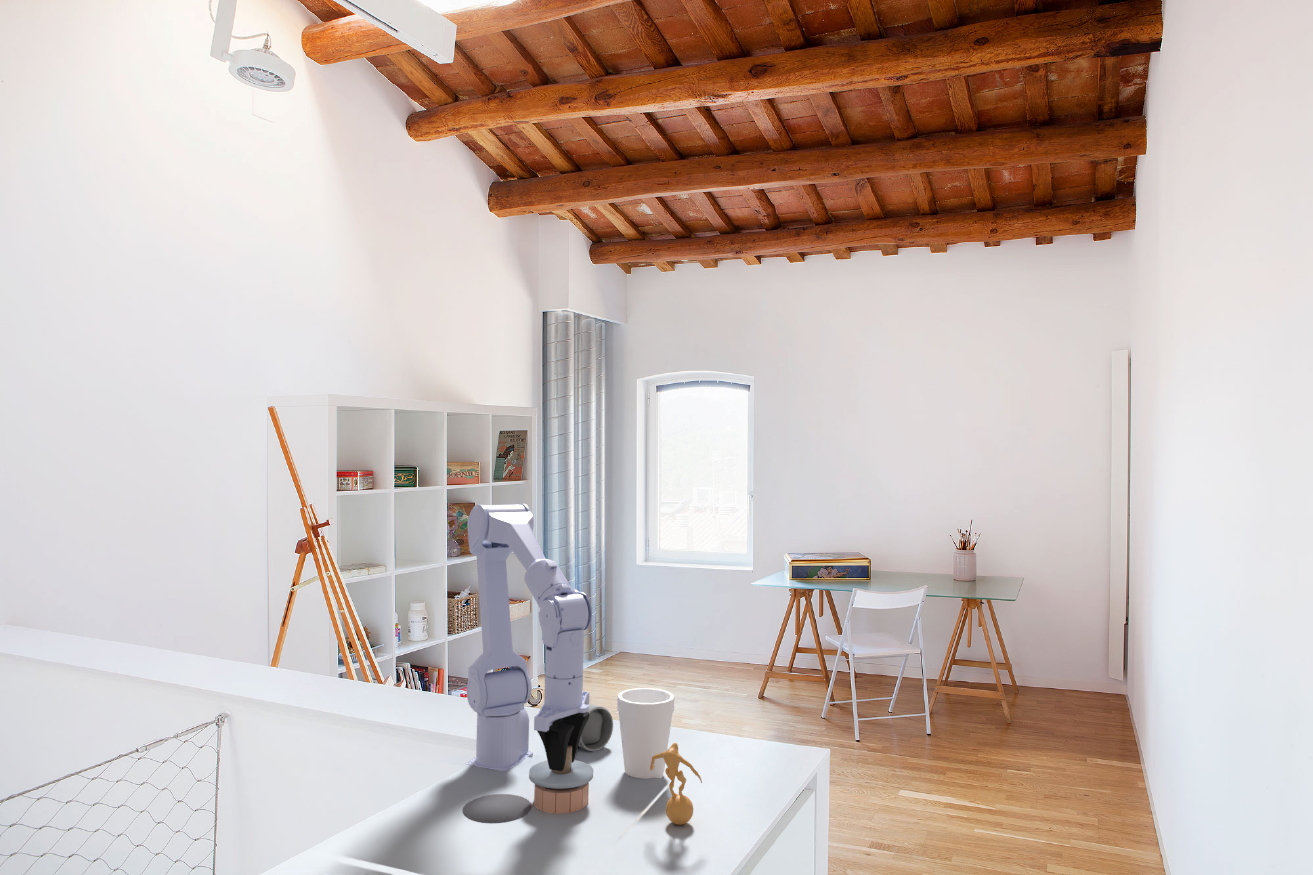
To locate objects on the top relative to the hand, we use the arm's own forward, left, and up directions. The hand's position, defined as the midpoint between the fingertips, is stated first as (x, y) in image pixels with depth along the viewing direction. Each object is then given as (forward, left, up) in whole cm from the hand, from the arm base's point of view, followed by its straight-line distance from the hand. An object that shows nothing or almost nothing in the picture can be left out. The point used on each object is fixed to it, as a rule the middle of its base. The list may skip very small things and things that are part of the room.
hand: (561, 765), depth 123 cm
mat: (+6, -8, -6) cm, 11 cm away
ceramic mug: (-24, -8, -6) cm, 26 cm away
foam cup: (-16, +7, -6) cm, 19 cm away
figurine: (0, +18, -6) cm, 19 cm away
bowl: (0, 0, -6) cm, 6 cm away
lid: (0, 0, -2) cm, 2 cm away
